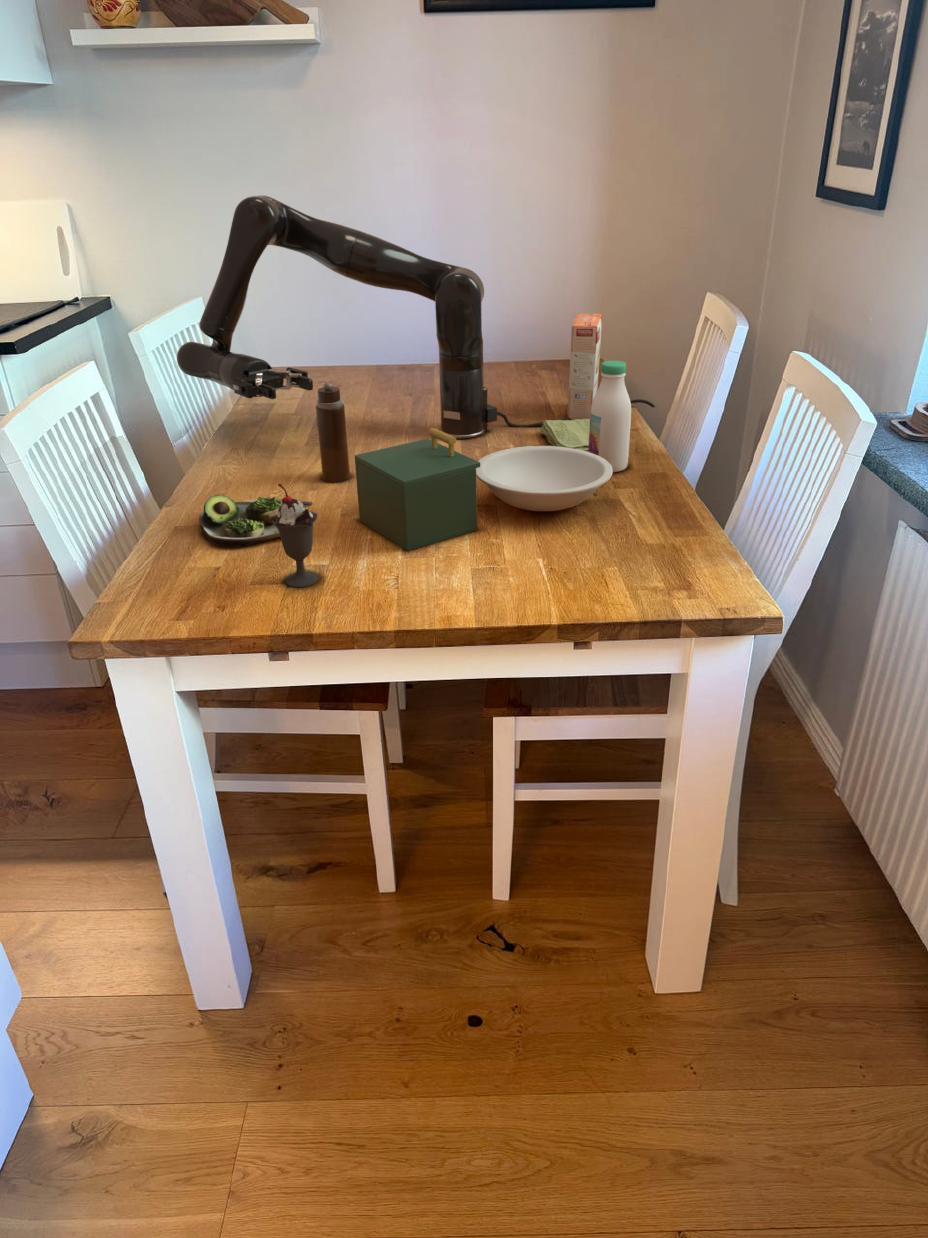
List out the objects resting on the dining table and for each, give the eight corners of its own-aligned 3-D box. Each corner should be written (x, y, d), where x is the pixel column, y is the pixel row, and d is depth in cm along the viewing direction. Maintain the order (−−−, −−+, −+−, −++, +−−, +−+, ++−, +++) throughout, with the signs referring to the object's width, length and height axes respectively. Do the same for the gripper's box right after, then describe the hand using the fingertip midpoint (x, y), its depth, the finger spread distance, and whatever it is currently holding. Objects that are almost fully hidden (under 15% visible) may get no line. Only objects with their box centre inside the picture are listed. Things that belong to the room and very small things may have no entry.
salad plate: (300, 496, 168) (298, 472, 166) (330, 531, 154) (327, 506, 151) (193, 515, 161) (188, 490, 159) (213, 554, 147) (209, 527, 144)
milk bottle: (630, 462, 181) (638, 359, 171) (623, 475, 175) (631, 369, 165) (592, 458, 183) (597, 356, 174) (583, 471, 177) (588, 366, 167)
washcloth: (560, 459, 183) (560, 443, 182) (538, 432, 198) (538, 418, 197) (623, 454, 185) (624, 439, 183) (596, 428, 200) (597, 414, 199)
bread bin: (426, 502, 164) (423, 443, 159) (477, 530, 153) (476, 468, 148) (359, 520, 158) (354, 460, 152) (407, 551, 146) (404, 486, 141)
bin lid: (427, 442, 160) (426, 418, 158) (480, 467, 148) (480, 441, 146) (354, 459, 152) (352, 435, 150) (404, 486, 141) (402, 460, 139)
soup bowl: (607, 534, 151) (609, 496, 148) (463, 525, 155) (462, 488, 152) (613, 482, 171) (615, 448, 168) (486, 476, 175) (486, 442, 172)
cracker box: (593, 422, 204) (598, 325, 194) (566, 421, 205) (569, 324, 195) (598, 404, 216) (603, 312, 206) (572, 403, 217) (576, 311, 207)
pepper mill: (341, 471, 180) (333, 376, 171) (354, 478, 176) (347, 382, 167) (318, 476, 177) (308, 381, 168) (330, 484, 173) (321, 387, 164)
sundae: (280, 571, 141) (268, 478, 133) (325, 569, 141) (315, 476, 134) (276, 591, 135) (264, 495, 128) (322, 588, 135) (312, 492, 128)
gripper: (212, 361, 180) (259, 376, 170) (273, 349, 189) (321, 362, 179) (217, 399, 184) (264, 416, 174) (277, 386, 192) (324, 401, 182)
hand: (293, 389), depth 176 cm, fingers open, 8 cm apart
